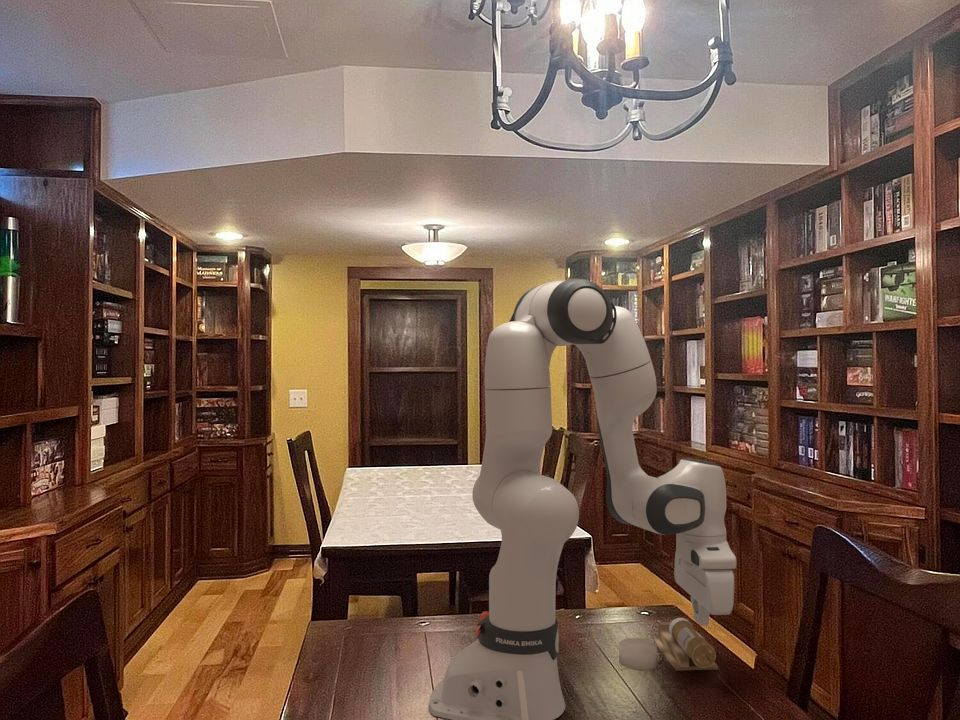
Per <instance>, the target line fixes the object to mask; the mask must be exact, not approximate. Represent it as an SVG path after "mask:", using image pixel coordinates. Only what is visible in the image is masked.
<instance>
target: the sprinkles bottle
mask: <svg viewBox="0 0 960 720" xmlns="http://www.w3.org/2000/svg"><path fill="white" fill-rule="evenodd" d="M670 622H671V624H670V626H669V632H670V635H671V636H672V638H673V639H674V640H675V641H677V642H678V644H679V645H680V646H681V648H682V649H683V650H684V651H685V652H686V654H687V655H688V656H689V657H690V658H691V659H692V660H693V662H694V664H695V665H697V666H698V667H701V668H706V667H709V666H710V665H712V664H713V662H715V661H716V657H717V653H716V650H715V648H714V646H712V645H711V644H710V643H708V641H707V640H706V639H705V638H704V636H702V634H701V633H699V632H698V631H697V630H696V628H694V626H693V624H692V623H691V622H690V621H689V620H688V619H686V618H684V617H677V618H675V619H673V620H672V621H670Z"/></svg>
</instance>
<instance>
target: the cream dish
mask: <svg viewBox="0 0 960 720" xmlns="http://www.w3.org/2000/svg"><path fill="white" fill-rule="evenodd" d="M618 645H619V655H618V656H619V658H618V659H619V661H618V662H619V664H620V665H621V666H622V667H624V668H627V669H629V670H634V671H650V670H653V669H656V667H657V666H658V647H657V645H656V644H655V643H654V641H652V640H649V639H645V638H640V637H630V638H624V639H622V640H620V641H619V643H618Z"/></svg>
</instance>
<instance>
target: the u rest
mask: <svg viewBox="0 0 960 720" xmlns="http://www.w3.org/2000/svg"><path fill="white" fill-rule="evenodd" d="M671 622H672V621H658V638H653V642H654V643H655V644H656V645H657V649H659V651H660V652H661V653H662V655H663V657H665V658H666V660H667V661H668V662H669V663H670V665H671V666H672V667H673V669H674V670H675V671H706V670H707V671H708V670H709V671H711V670H712V671H713V670H714V671H715V670H717V671H718V670H719V665H718V664H717V663H716V662H715V661H714V662H713V664H712V665H710V666H709V667H706V668H701V667H698V666H697V665H695V664H694V662H693V660H692V659H691V658H690V657H689V656H688V655H687V654H686V652H685V651H684V650H683V649H682V648H681V646H680V645H679V644H678V642H677V641H675V640H674V639H673V638H672V636H671V635H670V632H669V626H670V624H671Z"/></svg>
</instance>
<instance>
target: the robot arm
mask: <svg viewBox="0 0 960 720" xmlns="http://www.w3.org/2000/svg"><path fill="white" fill-rule="evenodd" d="M572 345H574V346H575V347H577V349H578V350H579V351H580V352H581V354H582V356H583V358H584V360H585V364H586V368H587V371H588V372H587V373H588V376H589V379H590V383H591V386H592V390H593V391H592V392H593V394H594V400H595V417H596V418H595V419H596V426H597V431H598V435H599V441H600V446H601V450H602V455H603V456H602V457H603V460H604V461H603V462H604V466H605V472H606V489H605V501H606V506H607V509H608V511H609V513H610V515H611V516H612V517H613V518H614V520H616V521H617V522H620V523H621V524H624V525H628V526H635V527H637V528H640V529H643V530H645V531H649V532H652V533H655V534H657V535H661V536H662V535H663V536H672V535H673V536H674V535H675V542H676V543H675V555H674V566H673V567H674V570H673V573H674V574H673V576H674V581H675V583H676V584H677V585H679V587H681V588H682V589H683V590H684V591H685V592H686V593H687V594H688V595H690V602H691V607H692V610H693V620H694V621H696V623H697V624H698V625H700V626H702V627H704V626H705V627H707V626H709V624H710V619H709V618H710V614H711V615H714V616H721V615H722V616H723V615H724V616H727V615H731V613H732V612H733V607H734V597H735V575H734V571H733V569H736V568H737V557H736V555H735V553H734V552H733V551H732V549H731V548H730V545H729V542H728V540H727V528H726V523H725V515H726V512H727V490H726V489H727V487H726V478H725V475H724V474H725V473H724V470H723V468H722V467H721V465H719V464H717V463H716V462H714V461H713V462H712V461H709V460H703V459H697V458H692V457H691V458H690V457H684V458H682V459H680V460H679V461H678V464H677V465H676V466H675V467H673V468H672V469H671V470H669V471H668V472H666V473H664V474H662V475H660V476H657V477H654V476H651V475H648V473H646V472H645V471H644V470H643V469H642V467H641V465H640V463H639V458H638V452H637V448H636V443H635V438H634V431H633V426H634V423H635V420H636V418H638V417H639V416H640V415H642V414H643V413H644V412H646V411H647V410H648V409H649V408H650V406H651V405H652V404H653V402H654V401H655V399H656V396H657V391H658V390H657V389H658V387H657V376H656V373H655V369H654V364H653V361H652V359H651V355H650V352H649V348H648V346H647V344H646V340H645V338H644V336H643V334H642V331H641V329H640V327H639V325H638V322H637V321H636V319H635V317H634V315H633V314H632V312H631V311H630V310H628V309H627V308H625V307H623V306H618V305H614V304H613V303H612V301H611V300H610V298H609V296H608V295H607V293H606V292H605V290H604V289H603V288H602V287H601V286H599V284H597V283H595V282H594V281H591V280H589V279H584V278H567V279H565V280H552V281H548V282H545V283H543V284H541V285H537V286H534V287H532V288H530V289H529V290H527V291H526V292H524V293H523V294H522V295H521V297H519V299H518V301H517V302H516V304H515V307H514V310H513V313H512V315H511V317H510V319H509V321H508V322H504V323H501V324H500V325H498V326H496V327H495V328H493V330H491V332H490V334H489V336H488V339H487V344H486V353H485V362H484V402H485V403H484V404H485V406H484V409H485V410H484V411H485V439H484V440H485V441H484V449H483V454H482V460H481V461H482V462H481V467H480V471H479V475H478V477H477V478H476V480H475V482H474V485H473V487H472V491H471V495H472V502H473V505H474V507H475V509H476V510H477V512H478V513H479V515H480V516H481V517H482V518H483V520H484V521H485V522H486V523H487V524H488V525H490V526H492V527H494V528H496V529H498V530H499V531H500V532H501V542H500V546H499V547H500V548H499V552H498V557H497V560H496V562H495V564H494V565H493V566H492V567H491V569H490V572H489V576H488V577H489V579H488V611H487V610H485V611H482V613H481V614H480V616H479V617H478V623H477V625H476V626H477V627H476V637H477V639H476V640H475V641H473V642H472V643H470V644H469V645H467V646H466V647H464V648H463V649H462V650H460V651H458V652H457V653H456V654H455V655H454V656H453V658H452V659H451V660H450V662H448V666H446V670H445V675H444V678H443V679H442V681H440V682H439V683H438V684H437V686H435V687H434V689H433V690H432V693H431V694H430V697H429V703H428V708H429V712H430V713H431V715H432V716H434V717H439V718H443V719H448V720H556V719H557V718H559V717H560V716H561V715H562V714H563V713H564V711H565V710H566V702H565V699H564V694H563V692H562V686H561V682H560V676H559V675H560V674H559V667H558V655H559V651H560V650H559V649H560V648H559V647H560V643H559V642H560V638H559V637H560V634H559V633H560V631H559V630H560V629H559V624H558V623H559V622H558V619H557V617H556V589H557V588H556V587H557V585H556V583H557V581H556V580H557V573H558V566H559V562H560V558H561V554H562V551H563V548H564V545H565V543H566V542H567V541H568V540H569V539H570V538H571V537H573V536H572V535H574V533H575V531H576V530H577V527H578V523H579V519H580V508H579V505H578V501H577V500H576V497H575V496H574V494H573V493H572V492H571V491H570V490H568V488H567V487H566V486H564V485H563V484H561V483H560V482H559V481H558V480H556V479H555V478H552V477H550V476H546V475H543V474H541V463H542V458H543V454H544V450H545V446H546V444H547V442H548V441H549V440H550V438H551V436H552V433H553V415H552V413H553V412H552V411H553V410H552V408H553V407H552V391H551V390H552V388H551V385H552V384H551V375H550V366H551V359H552V356H553V353H554V351H555V349H556V348H557V347H565V346H566V347H567V346H572Z"/></svg>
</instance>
